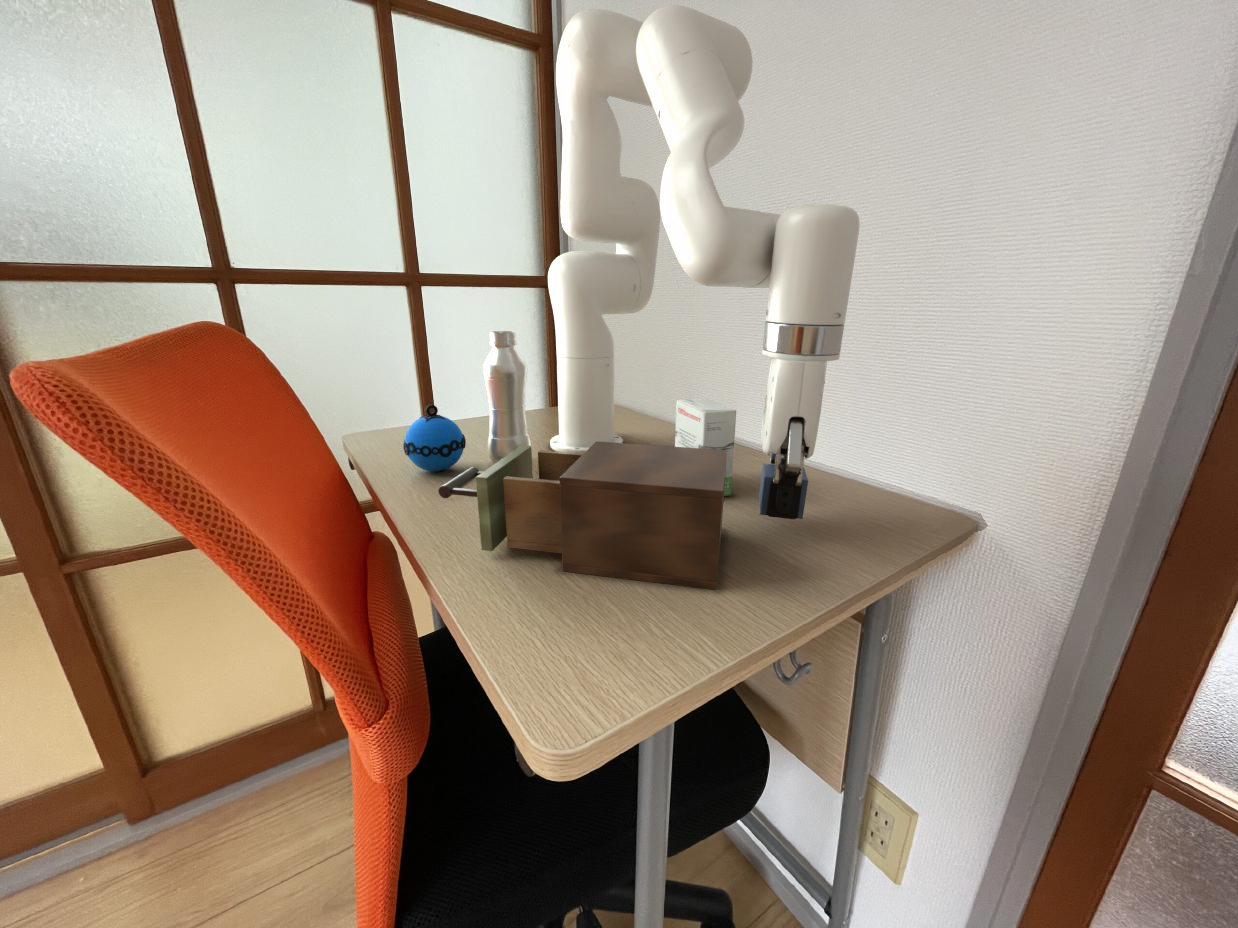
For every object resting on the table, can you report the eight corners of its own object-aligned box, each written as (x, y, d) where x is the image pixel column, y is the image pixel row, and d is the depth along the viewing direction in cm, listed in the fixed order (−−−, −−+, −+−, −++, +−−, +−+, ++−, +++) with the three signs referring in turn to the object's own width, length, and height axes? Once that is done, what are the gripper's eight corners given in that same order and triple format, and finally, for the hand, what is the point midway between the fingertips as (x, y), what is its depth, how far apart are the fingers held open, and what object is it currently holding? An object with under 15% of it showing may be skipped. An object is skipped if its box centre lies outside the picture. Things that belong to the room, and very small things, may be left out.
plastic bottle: (480, 463, 82) (469, 331, 76) (515, 454, 87) (508, 329, 81) (504, 472, 78) (495, 334, 72) (540, 462, 83) (535, 332, 77)
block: (758, 499, 62) (762, 463, 60) (798, 503, 61) (804, 466, 59) (759, 514, 58) (764, 476, 56) (802, 519, 57) (808, 480, 55)
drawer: (430, 544, 54) (421, 472, 52) (481, 503, 65) (476, 441, 62) (612, 565, 50) (612, 488, 48) (635, 518, 61) (636, 453, 58)
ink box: (732, 496, 70) (739, 408, 66) (699, 500, 68) (704, 411, 64) (702, 475, 77) (707, 396, 74) (671, 479, 76) (674, 398, 72)
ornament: (418, 484, 73) (410, 413, 70) (399, 468, 80) (391, 403, 77) (477, 472, 78) (471, 406, 75) (454, 458, 85) (448, 397, 82)
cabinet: (562, 571, 51) (559, 477, 48) (596, 519, 62) (595, 441, 59) (715, 590, 48) (723, 490, 45) (721, 531, 59) (727, 450, 56)
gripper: (761, 333, 62) (745, 478, 68) (766, 349, 46) (746, 536, 52) (828, 335, 60) (806, 484, 66) (857, 354, 45) (825, 546, 51)
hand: (780, 505), depth 59 cm, fingers closed on block, 4 cm apart
